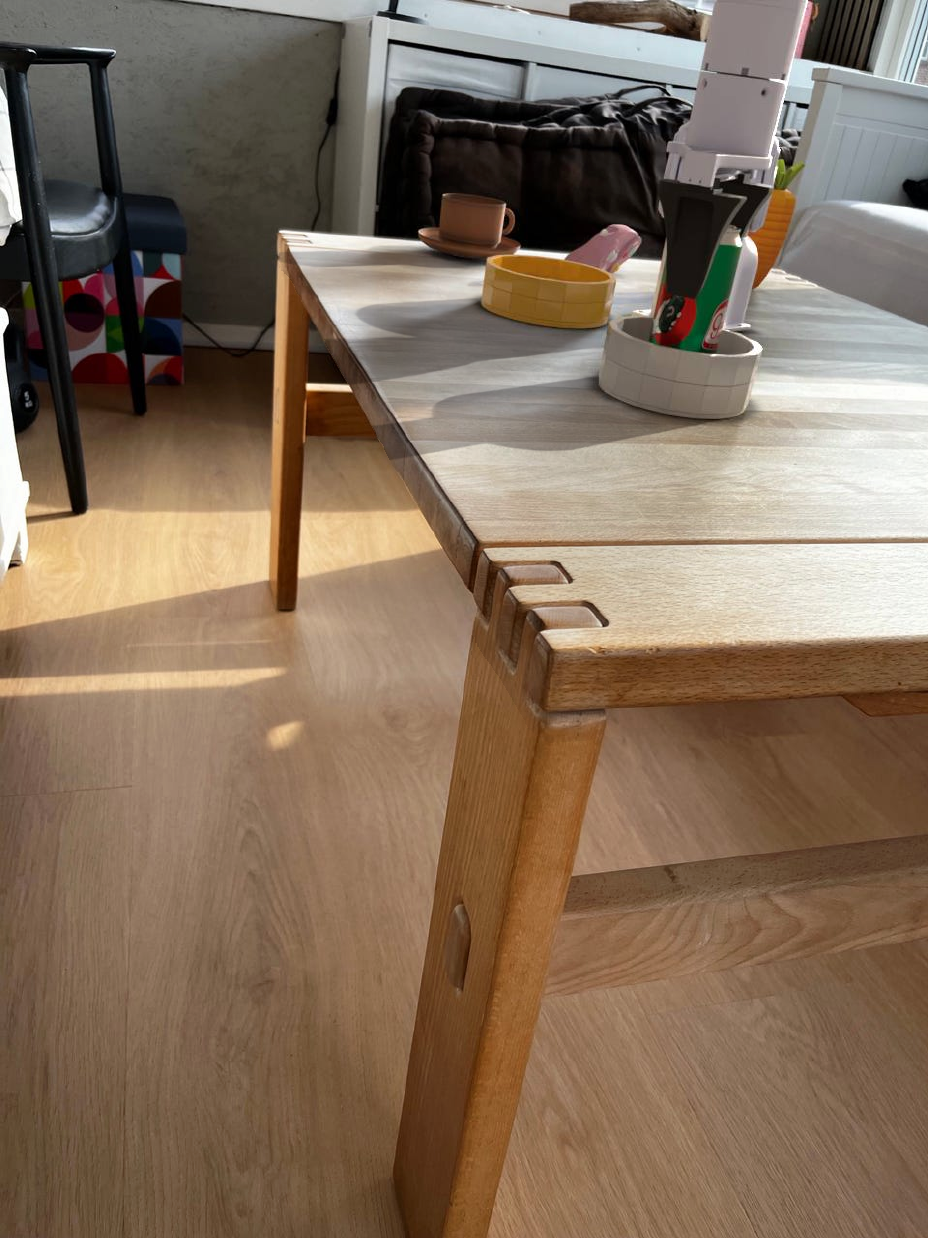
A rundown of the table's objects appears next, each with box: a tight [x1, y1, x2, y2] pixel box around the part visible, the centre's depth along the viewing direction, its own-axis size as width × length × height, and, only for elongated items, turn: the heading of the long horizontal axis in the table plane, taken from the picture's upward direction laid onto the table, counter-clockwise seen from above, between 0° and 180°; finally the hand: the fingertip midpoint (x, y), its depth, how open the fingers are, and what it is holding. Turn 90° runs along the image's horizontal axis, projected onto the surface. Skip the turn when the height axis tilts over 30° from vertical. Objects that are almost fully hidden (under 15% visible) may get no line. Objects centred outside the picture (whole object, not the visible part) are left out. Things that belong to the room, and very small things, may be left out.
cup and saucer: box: [417, 192, 521, 260], centre depth 119 cm, size 12×12×6 cm
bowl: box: [480, 253, 617, 329], centre depth 97 cm, size 12×12×4 cm
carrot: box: [748, 158, 806, 291], centre depth 120 cm, size 5×5×15 cm
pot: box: [598, 315, 764, 420], centre depth 77 cm, size 11×11×4 cm
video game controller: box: [563, 223, 643, 275], centre depth 118 cm, size 10×5×7 cm, turn 148°
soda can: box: [648, 224, 743, 354], centre depth 75 cm, size 5×5×12 cm
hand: (695, 288), depth 74 cm, fingers open, 7 cm apart
